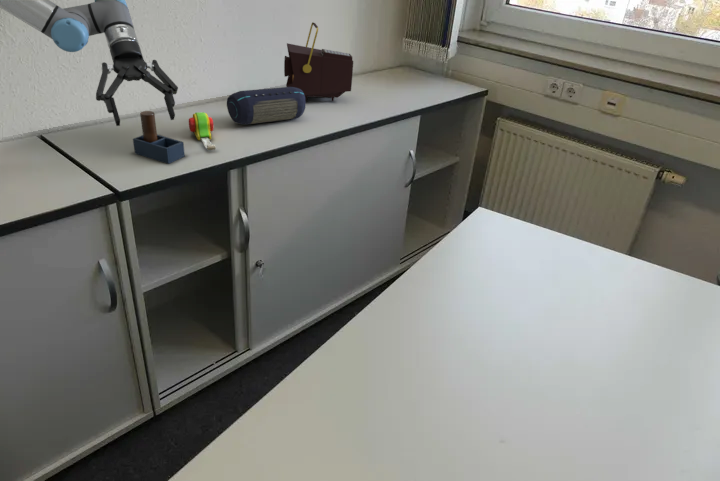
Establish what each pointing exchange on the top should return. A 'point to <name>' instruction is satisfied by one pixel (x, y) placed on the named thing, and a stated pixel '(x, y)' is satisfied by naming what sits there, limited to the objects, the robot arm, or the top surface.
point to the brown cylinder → (148, 126)
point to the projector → (318, 70)
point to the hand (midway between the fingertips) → (146, 120)
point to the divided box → (159, 149)
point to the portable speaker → (266, 105)
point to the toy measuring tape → (202, 128)
